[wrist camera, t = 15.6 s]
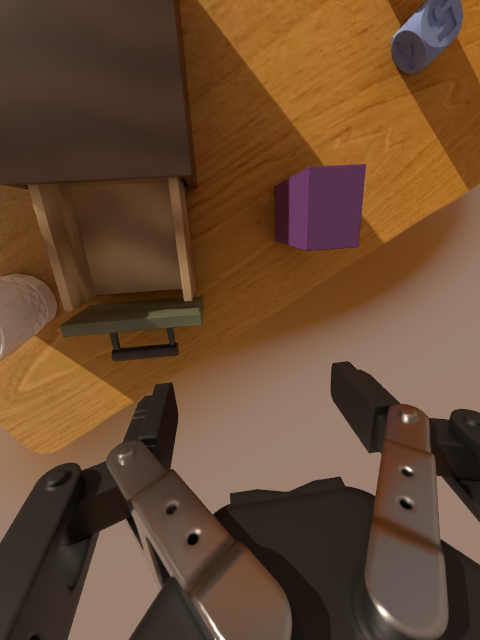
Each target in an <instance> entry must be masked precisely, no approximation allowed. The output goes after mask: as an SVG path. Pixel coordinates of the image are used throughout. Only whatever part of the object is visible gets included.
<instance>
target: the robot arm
mask: <svg viewBox="0 0 480 640" xmlns="http://www.w3.org/2000/svg"><path fill="white" fill-rule="evenodd" d="M331 371H332V372H331V395H332V399H333V401H334V403H335V404H336V406H337V407H338V408H339V410H340V412H341V413H342V414H343V416H344V417H345V419H346V420H347V422H348V423H349V425H350V426H351V428H352V429H353V431H354V432H355V433H356V435H357V436H358V438H359V439H360V441H361V442H362V444H363V445H364V446H365V448H366V450H367V451H368V452H369V453H374V452H380V453H381V454H382V456H381V462H380V469H379V476H378V483H377V489H376V496H374V495H372V494H370V493H368V492H365V491H363V490H360V489H357V488H353V487H347V486H345V485H344V483H343V481H342V479H341V477H335V478H329V479H322V480H315V481H312V482H310V483H308V484H305V485H303V486H301V487H298V488H296V489H294V490H292V491H289V492H281V491H270V490H260V489H257V490H251V491H244V492H237V493H230V502H231V504H229V505H226V506H224V507H223V508H221V509H219V510H218V511H217V512H215V513H214V514H212V513H211V512H210V511H209V510H208V509H207V508H206V506H205V505H204V504H203V503H202V502H201V501H200V499H199V498H198V497H197V496H196V495H195V494H194V492H193V491H192V490H191V489H190V488H189V487H188V486H187V485H186V483H185V482H184V481H183V480H182V478H180V476H179V475H178V474H177V473H176V472H175V471H174V470H173V469H171V470H170V467H171V461H172V455H173V449H174V443H175V436H176V430H177V424H178V409H177V404H176V399H175V393H174V388H173V384H172V383H163V384H156V385H155V388H154V391H153V394H152V395H151V396H145V397H144V398H143V399H142V400H141V401H140V402H139V403H138V405H137V408H136V410H135V413H134V415H133V418H132V420H131V423H130V425H129V428H128V430H127V433H126V435H125V438H124V441H123V443H121V444H119V445H118V446H116V447H115V448H114V449H113V450H112V451H111V452H110V453H109V455H108V456H107V459H106V461H104V462H102V463H100V464H98V465H95V466H93V467H90V468H88V469H85V470H82V471H81V468H80V466H79V465H78V464H76V463H65V464H62V465H59V466H57V467H55V468H53V469H51V470H50V471H48V472H47V473H45V474H44V475H43V476H42V477H41V478H40V479H39V480H38V482H37V483H36V484H35V486H34V488H33V490H32V491H31V493H30V494H29V496H28V498H27V500H26V501H25V503H24V504H23V506H22V508H21V509H20V511H19V513H18V514H17V516H16V518H15V519H14V521H13V523H12V524H11V526H10V528H9V530H8V531H7V533H6V535H5V536H4V538H3V540H2V541H1V543H0V640H67V639H68V636H69V633H70V629H71V626H72V623H73V619H74V616H75V612H76V609H77V606H78V603H79V599H80V596H81V593H82V589H83V586H84V582H85V579H86V576H87V573H88V569H89V566H90V563H91V559H92V556H93V552H94V549H95V546H96V542H97V539H98V536H99V532H100V531H101V530H103V529H105V528H107V527H109V526H112V525H114V524H116V523H118V522H120V521H122V520H124V519H125V521H126V523H127V525H128V527H129V529H130V531H131V533H132V534H133V536H134V538H135V540H136V542H137V543H138V546H139V548H140V549H141V551H142V553H143V555H144V557H145V559H146V561H147V563H148V565H149V568H150V571H151V573H152V575H153V578H154V580H155V582H156V584H157V586H158V588H159V590H160V592H159V593H158V595H157V597H156V598H155V600H154V601H153V603H152V605H151V606H150V607H149V609H148V610H147V612H146V614H145V615H144V617H143V618H142V620H141V621H140V623H139V624H138V626H137V627H136V629H135V631H134V632H133V634H132V635H131V637H130V638H129V640H480V565H479V564H478V563H476V562H474V561H473V560H472V559H470V558H469V557H467V556H466V555H464V554H463V553H461V552H459V551H458V550H456V549H455V548H453V547H452V546H450V545H449V544H447V543H446V542H444V541H443V540H441V539H440V528H439V512H438V497H437V481H436V476H442V477H443V479H444V480H445V481H446V482H447V483H448V485H449V486H450V487H451V488H452V489H453V491H454V492H455V493H456V494H457V495H458V497H459V498H460V499H461V500H462V501H463V503H464V504H465V505H466V506H467V507H468V509H469V510H470V511H471V512H472V513H473V515H474V516H475V517H476V518H477V519H478V521H479V522H480V413H479V412H476V411H472V410H467V409H458V410H454V411H453V412H452V413H451V416H450V420H446V419H435V418H428V416H427V415H426V414H425V413H424V412H423V411H421V410H419V409H418V408H416V407H413V406H410V405H406V404H400V403H399V402H398V401H397V400H396V399H395V398H394V397H393V396H392V395H391V394H390V393H389V392H388V391H387V390H386V389H385V388H383V387H382V385H381V384H379V383H378V382H377V381H376V380H375V379H374V378H373V377H372V376H371V375H370V374H368V373H366V372H364V371H362V370H357V369H356V368H355V367H354V366H353V365H352V364H351V363H350V362H348V361H346V362H339V363H333V364H332V370H331Z"/></svg>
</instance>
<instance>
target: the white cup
mask: <svg viewBox="0 0 480 640" xmlns="http://www.w3.org/2000/svg"><path fill="white" fill-rule="evenodd" d="M57 307H58V306H57V302H56V298H55V295H54V293H53V292H52V291H51V289H50V288H49V287H48V286H47V285H46V283H44V282H42V281H41V280H39V279H37V278H35V277H34V276H31V275H25V274H18V273H17V274H12V275H7V276H1V277H0V361H1V360H3V359H4V358H5V357H7V356H8V355H10V354H11V353H12V352H14V351H15V350H16V349H18V348H19V347H20V346H22V345H23V344H25V343H26V342H27V341H28V340H30V339H31V338H32V337H33V336H35V335H36V334H37V333H38V332H40V330H41V329H42V328H44V327H45V326H47V325H48V324H49V323H50V322H51V321H52V320H53V319H54V318H55V315H56V311H57Z"/></svg>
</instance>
